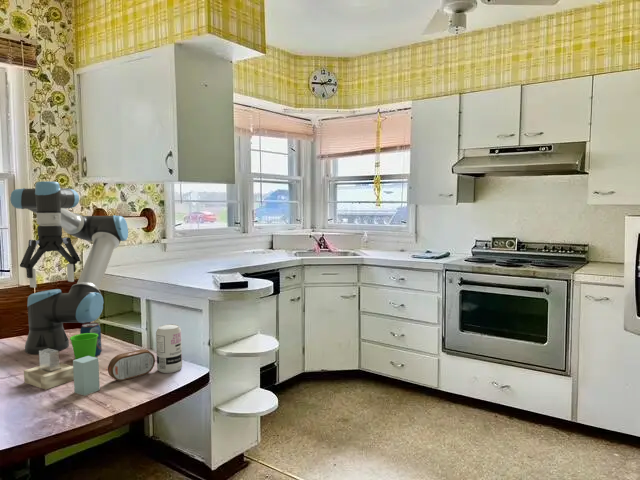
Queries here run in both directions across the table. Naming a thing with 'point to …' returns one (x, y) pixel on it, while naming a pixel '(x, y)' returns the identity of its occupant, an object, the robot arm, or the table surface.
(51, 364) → the grey rectangular block
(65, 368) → the slotted holder
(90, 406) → the table surface
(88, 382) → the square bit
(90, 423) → the table surface
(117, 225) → the robot arm
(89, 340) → the cup
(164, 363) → the supplement can
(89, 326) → the soda can
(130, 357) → the tin
